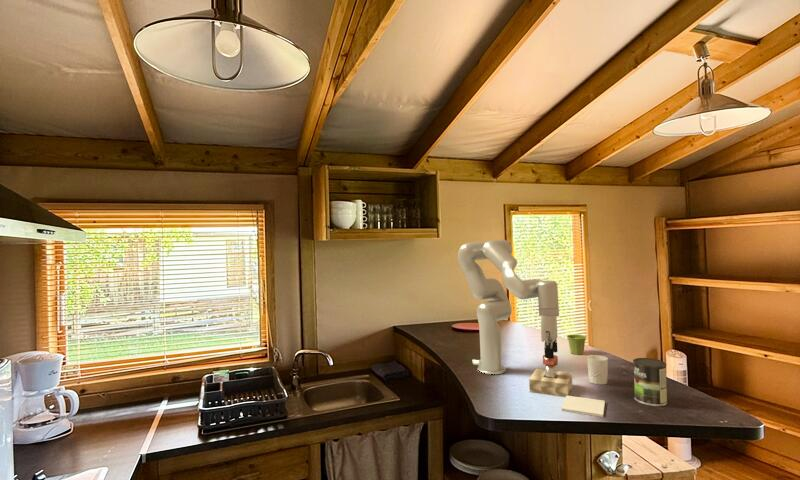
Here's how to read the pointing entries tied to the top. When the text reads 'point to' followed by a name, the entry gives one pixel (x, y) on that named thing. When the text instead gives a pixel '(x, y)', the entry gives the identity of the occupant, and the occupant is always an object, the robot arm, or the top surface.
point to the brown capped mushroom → (550, 366)
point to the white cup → (597, 369)
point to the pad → (584, 406)
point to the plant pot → (576, 344)
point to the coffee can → (650, 381)
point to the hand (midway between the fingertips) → (551, 355)
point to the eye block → (551, 383)
